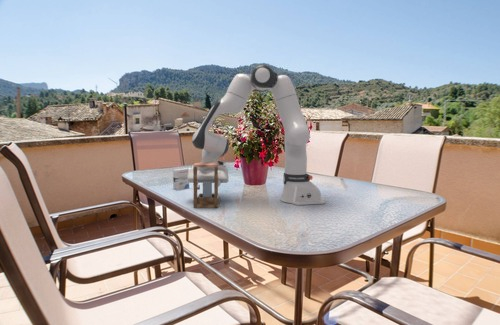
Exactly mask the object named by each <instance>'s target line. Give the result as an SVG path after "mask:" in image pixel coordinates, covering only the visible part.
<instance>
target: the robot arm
mask: <svg viewBox="0 0 500 325" xmlns="http://www.w3.org/2000/svg"><path fill="white" fill-rule="evenodd" d="M268 90H269V91H270V92H271V94H272V95H273V99H274V103H275V107H276V110H277V113H278V116H279V119H280V121H281V124H282V126H283V130H284V172H283V175H282V176H283V178H282V179H283V180H282V182H283V186H282V188H283V189H282V193H281V195H280V196H281V197H280V201H281V202H284V203H287V204H292V205H295V206H304V205H306V206H307V205H324V204H326V198H324V197H322V195H321V194H322V193H321V190H320V188H319V187H317V186H316V184H314V183H313V182H312V180H313V178H314V177H313V175H311V174H308V173H307V170H308V166H307V165H308V156H307V144H308V143H309V140H310V139H311V133H310V130H309V127H308V124H307V121H306V119H305V117H304V114H303V111H302V109H301V106H300V102H299V98H298V95H297V92H296V89H295V86H294V84H293V82H292V80H291V78H290V76H288V75H285V74H280V75H278V74H277V73H276V72H275V71H274V69H272V68H271V67H270V66H269V65H267V64H258V65H257V66H255V67H254V68H253V69H252V71H251V74H246V73H237V74H236V75H234V77H233V79H232V81H231V82H230V84H229V86H228V88H227V90H226V93H225V94H224V95H223V97H222V98H220V99H217V100H215V102H214V103H213V104H212V105H211V107H210V109H209V110H208V111H207V113H206V115H205V116H204V118H203V120H202V122H200V124H199V126H198V127H197V129H196V130H195V132H194V133H193V135H192V138H191V142H192V144H193V146H194V148H196V149H199V150H201V159H200V162H219V166H218V188H219V187H220V186H221V184H227V183H228V182H229V170H228V168H227V163H226V162H225V161H222V160H218V159H219V158H222V157H223V156H225V155H226V154H227V152H228V150H229V148H230V147H229V146H230V142H229V139H228V138H227V137H225V136H223V135H220V134H218V133H214V132H212V131H210V130H209V129H210V128H211V127H212V125H213V123H214V121H215V119H216V118H217V117H218V116H219V115H222V114H223V115H224V114H238V113H240V112H241V111H243V110H244V108H245V107H246V104H247V103H248V101H249V100H248V99H249V97H250V95H251V93H252V92H254V91H256V92H266V91H268ZM187 169H188V176H187V180H188V182H189V184H191V183H193V165H191V166H189V167H188V168H187ZM203 181H212V184H214V167H197V191H198V190H201V184H203ZM199 183H201V184H199Z"/></svg>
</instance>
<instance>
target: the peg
mask: <svg viewBox="0 0 500 325" xmlns="http://www.w3.org/2000/svg"><path fill="white" fill-rule="evenodd" d="M202 194H203V197H212V194H213V183H212V181H203V183H202Z"/></svg>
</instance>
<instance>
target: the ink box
mask: <svg viewBox="0 0 500 325" xmlns="http://www.w3.org/2000/svg"><path fill="white" fill-rule="evenodd" d="M187 176H188V168H184V167H183V168H177V169H176V168H175V169H173V170H172V179H173V180H172V182H173V183H172V184H173V188H172V189H173V190H175V191H181V190H185V189H189V188H190V183H189V182H188V180H187Z"/></svg>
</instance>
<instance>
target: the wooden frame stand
mask: <svg viewBox="0 0 500 325" xmlns="http://www.w3.org/2000/svg"><path fill="white" fill-rule="evenodd" d="M192 166H193V186H192V187H193V208H194V209H218V208H219V204H220V200H221V198H219V187H218V166H219V162H201V161H197V162H195V163H193V165H192ZM197 167H214V183H213V184H214V185H213V186H214V187H213V188H214V189H213V190H214V193H212V197H203V193H199V194H198V190H197Z"/></svg>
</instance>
